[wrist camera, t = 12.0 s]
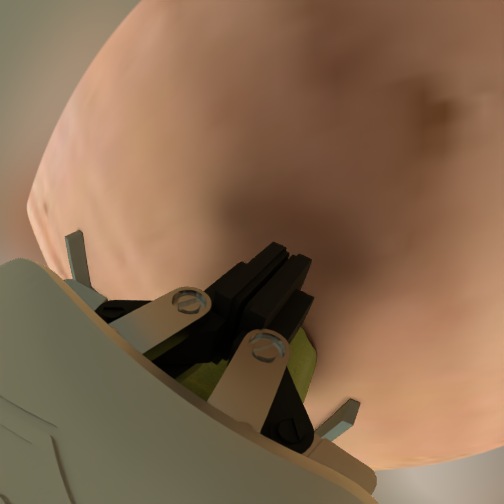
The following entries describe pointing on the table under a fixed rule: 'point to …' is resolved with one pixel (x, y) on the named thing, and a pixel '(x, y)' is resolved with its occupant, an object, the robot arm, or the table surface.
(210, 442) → the robot arm
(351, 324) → the table surface
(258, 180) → the table surface
